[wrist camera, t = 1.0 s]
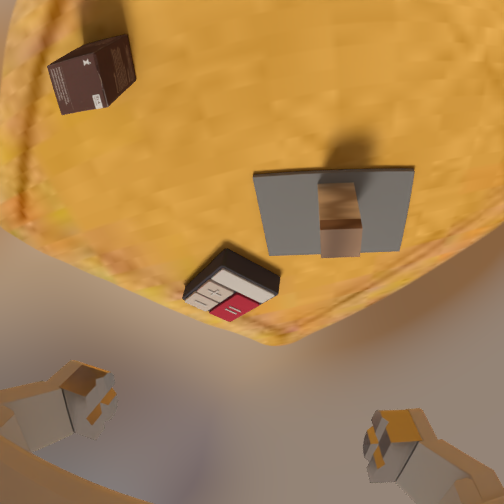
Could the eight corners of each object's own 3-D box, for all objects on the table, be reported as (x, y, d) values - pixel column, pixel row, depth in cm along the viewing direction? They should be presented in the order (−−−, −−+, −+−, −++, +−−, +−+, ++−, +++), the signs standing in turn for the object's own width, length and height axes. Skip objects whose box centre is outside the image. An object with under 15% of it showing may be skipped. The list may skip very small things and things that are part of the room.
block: (353, 182, 38) (362, 228, 33) (352, 209, 41) (359, 256, 36) (317, 183, 39) (320, 230, 34) (318, 211, 42) (321, 257, 37)
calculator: (180, 302, 58) (220, 269, 48) (185, 283, 61) (226, 246, 51) (230, 324, 62) (279, 298, 52) (234, 305, 65) (281, 276, 55)
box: (83, 43, 27) (45, 64, 22) (129, 32, 26) (94, 50, 22) (93, 88, 31) (60, 116, 27) (137, 81, 31) (107, 108, 26)
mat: (413, 168, 36) (414, 171, 35) (398, 248, 46) (399, 251, 46) (253, 174, 40) (252, 177, 39) (269, 252, 50) (269, 255, 50)
